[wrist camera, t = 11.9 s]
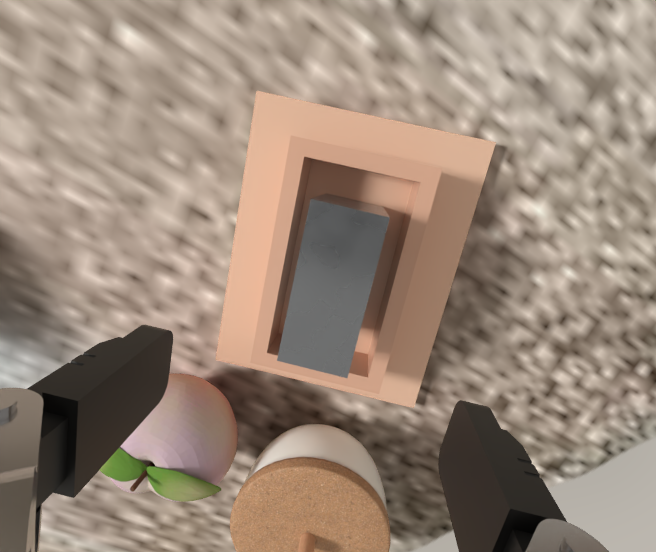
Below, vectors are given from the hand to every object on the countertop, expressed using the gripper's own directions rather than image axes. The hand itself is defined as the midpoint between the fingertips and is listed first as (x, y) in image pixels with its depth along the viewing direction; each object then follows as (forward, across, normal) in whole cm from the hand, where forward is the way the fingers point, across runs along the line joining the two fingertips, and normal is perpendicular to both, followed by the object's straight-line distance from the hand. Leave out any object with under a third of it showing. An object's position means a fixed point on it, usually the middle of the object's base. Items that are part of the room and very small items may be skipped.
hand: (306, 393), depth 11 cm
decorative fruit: (+19, +9, +14) cm, 25 cm away
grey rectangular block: (+18, 0, 0) cm, 18 cm away
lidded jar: (+19, -2, +17) cm, 25 cm away
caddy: (+19, 0, 0) cm, 19 cm away
